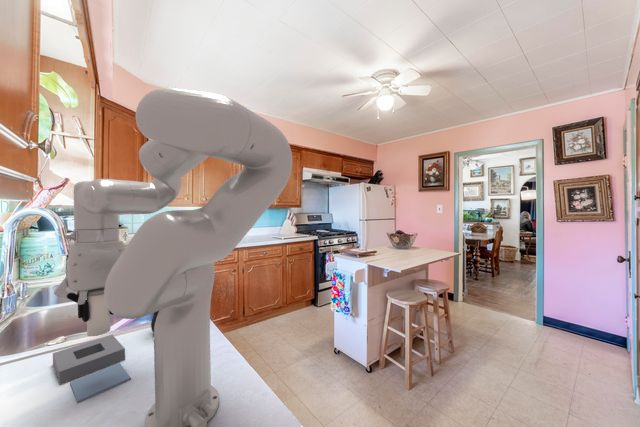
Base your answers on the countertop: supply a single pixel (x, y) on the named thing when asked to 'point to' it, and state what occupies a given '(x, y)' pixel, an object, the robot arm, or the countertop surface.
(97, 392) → the mat
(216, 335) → the countertop surface
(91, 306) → the plug
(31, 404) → the countertop surface
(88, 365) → the socket block
